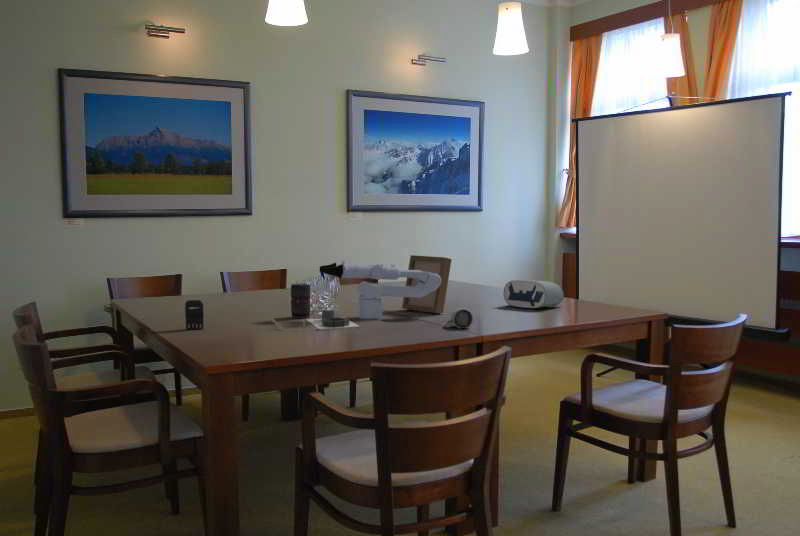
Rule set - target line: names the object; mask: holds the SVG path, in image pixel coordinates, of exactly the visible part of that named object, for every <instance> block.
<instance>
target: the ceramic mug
mask: <svg viewBox="0 0 800 536" xmlns="http://www.w3.org/2000/svg"><path fill="white" fill-rule="evenodd" d="M473 320H474V316H473V313H472V311H470V310H469V309H467V308H464V307H463V308H462V307H460V308H459V307H458V308H456V309H455V310H453V312H452V313H451V319H449V320H447V321H446V322H444V323H443V326H444V328H445V327H446V328H445V329H448V328H450V327H453V326H455V327H456V328H458V329H460V330H462V329H461V328H466V329H468V328H470V326H471V325H472V324H473V322H474V321H473Z"/></svg>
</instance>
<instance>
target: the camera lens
mask: <svg viewBox="0 0 800 536" xmlns="http://www.w3.org/2000/svg"><path fill="white" fill-rule="evenodd" d="M290 299H291V300H290V306H291V307H290V313H291V317H292V319H295V320H301V319H302V320H304V319H310V317H311V284H309V283H291V286H290Z"/></svg>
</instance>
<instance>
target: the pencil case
mask: <svg viewBox="0 0 800 536" xmlns="http://www.w3.org/2000/svg"><path fill="white" fill-rule="evenodd" d="M564 297H565V295H564V291H563V288H562V287H561V286H560V285H559V284H557V283H555V282H552V281H548V280H534V279H522V280H521V279H520V280H519V279H518V280H517V279H516V280H509V281H508V282H507V283H506V284H505V285H504V289H503V299H504V301H505V302H506V304H508V305H509V306H511V307H516V308H521V309H525V308H526V309H541V307H546V308H549V307H548V306H552V307H555V306H558V305H560V304H561V303H562V302H563V301H564Z"/></svg>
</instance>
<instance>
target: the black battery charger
mask: <svg viewBox="0 0 800 536" xmlns="http://www.w3.org/2000/svg"><path fill="white" fill-rule="evenodd" d="M204 306H205V305H204V301H203V300H202V299H186V300H185V302H184V316H185V329H186V330H188V329H195V330H203V329H204V328H205V323H204V319H205V318H204V317H205V316H204V315H205V313H204V312H205V311H204V309H205V307H204Z"/></svg>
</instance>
